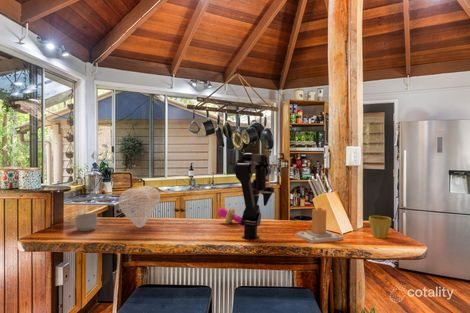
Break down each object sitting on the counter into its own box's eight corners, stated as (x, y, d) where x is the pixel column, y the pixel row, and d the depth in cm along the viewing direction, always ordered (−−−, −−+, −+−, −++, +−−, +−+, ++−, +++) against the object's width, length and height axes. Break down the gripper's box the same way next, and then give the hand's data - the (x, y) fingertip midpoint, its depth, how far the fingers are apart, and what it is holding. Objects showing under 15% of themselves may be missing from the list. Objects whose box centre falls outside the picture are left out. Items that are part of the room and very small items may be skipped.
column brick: (317, 236, 152) (318, 209, 152) (311, 234, 157) (312, 207, 156) (325, 235, 154) (326, 208, 154) (319, 233, 158) (320, 206, 158)
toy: (238, 228, 176) (246, 211, 179) (211, 216, 182) (218, 200, 185) (242, 231, 185) (249, 215, 188) (216, 220, 191) (223, 204, 194)
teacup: (96, 231, 162) (96, 216, 162) (73, 233, 158) (73, 217, 158) (97, 225, 175) (98, 211, 175) (76, 227, 171) (76, 212, 171)
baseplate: (311, 243, 145) (311, 237, 145) (295, 235, 158) (295, 230, 158) (343, 239, 152) (343, 234, 152) (324, 232, 165) (325, 227, 165)
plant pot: (389, 240, 151) (390, 220, 151) (366, 237, 157) (367, 217, 157) (392, 236, 160) (392, 217, 160) (370, 233, 165) (370, 214, 165)
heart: (140, 234, 156) (140, 190, 156) (112, 232, 160) (112, 189, 159) (164, 222, 184) (164, 185, 184) (139, 221, 187) (140, 184, 187)
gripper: (258, 175, 179) (257, 203, 179) (237, 177, 164) (237, 207, 164) (274, 177, 172) (274, 205, 172) (255, 178, 157) (254, 209, 157)
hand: (260, 206), depth 167 cm, fingers open, 9 cm apart
